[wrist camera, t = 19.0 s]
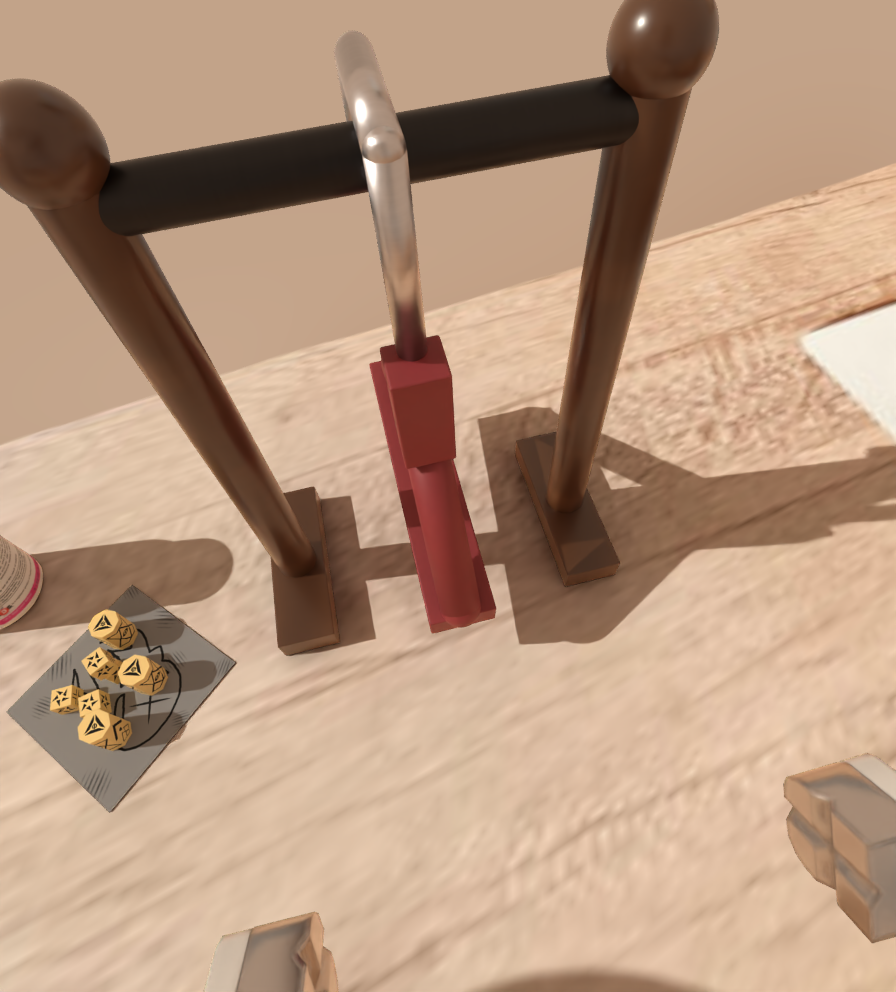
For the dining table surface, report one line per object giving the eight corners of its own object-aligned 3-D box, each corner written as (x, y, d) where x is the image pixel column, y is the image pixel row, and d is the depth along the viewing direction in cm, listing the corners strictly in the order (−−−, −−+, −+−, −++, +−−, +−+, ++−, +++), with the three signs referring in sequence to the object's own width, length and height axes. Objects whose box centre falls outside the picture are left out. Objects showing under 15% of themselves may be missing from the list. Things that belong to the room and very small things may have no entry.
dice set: (125, 617, 31) (105, 603, 30) (191, 669, 29) (173, 657, 28) (46, 699, 29) (19, 689, 27) (111, 760, 27) (88, 753, 26)
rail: (285, 656, 30) (-132, 219, 10) (273, 509, 34) (-24, 13, 14) (615, 574, 31) (850, 43, 11) (558, 444, 36) (651, -90, 16)
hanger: (497, 626, 27) (540, 330, 10) (433, 642, 26) (362, 368, 9) (422, 364, 34) (371, -70, 17) (371, 374, 34) (268, -54, 17)
